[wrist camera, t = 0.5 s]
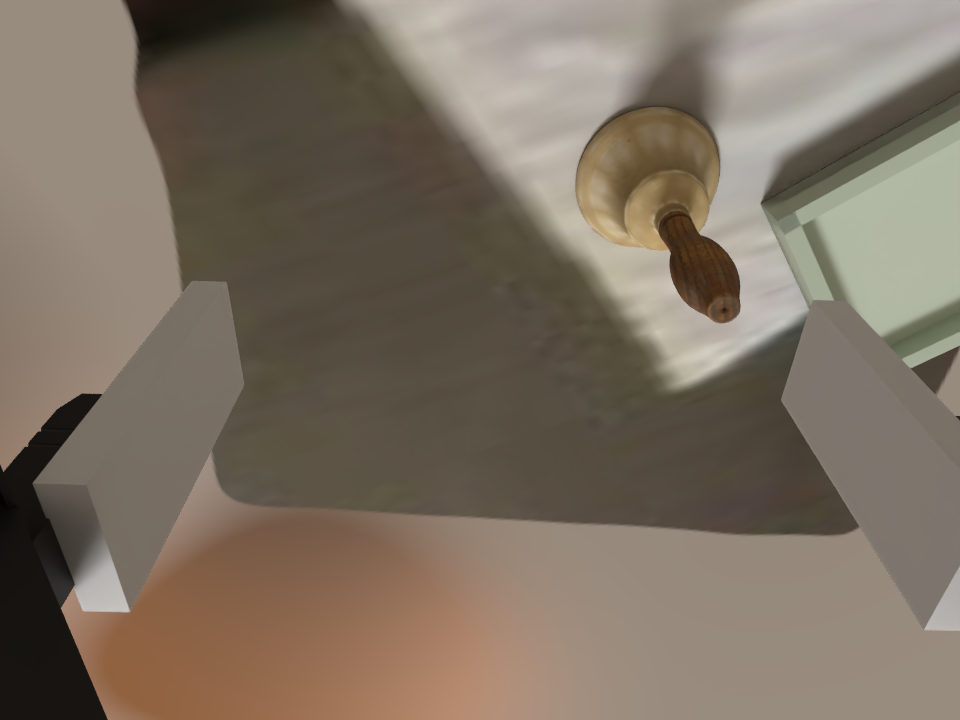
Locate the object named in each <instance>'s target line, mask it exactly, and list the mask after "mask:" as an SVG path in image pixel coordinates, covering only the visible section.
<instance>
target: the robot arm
mask: <svg viewBox="0 0 960 720" xmlns="http://www.w3.org/2000/svg"><path fill="white" fill-rule="evenodd" d="M243 386H244V381H243V375H242V369H241V363H240V357H239V352H238V346H237V340H236V334H235V328H234V322H233V316H232V310H231V305H230V299H229V293H228V287H227V282H209V281H192V282H191V283H190V284H189V285H188V287H187V288H186V289H185V290H184V292H183V293H182V294H181V295H180V297H179V298H178V299H177V301H176V302H175V303H174V305H173V306H172V307H171V308H170V310H169V311H168V312H167V313H166V315H165V316H164V317H163V318H162V320H161V321H160V322H159V324H158V325H157V326H156V327H155V329H154V330H153V331H152V332H151V334H150V335H149V336H148V337H147V339H146V340H145V341H144V342H143V344H142V345H141V346H140V348H139V349H138V350H137V351H136V353H135V354H134V355H133V356H132V358H131V359H130V360H129V362H128V363H127V364H126V365H125V367H124V368H123V369H122V371H121V372H120V373H119V374H118V376H117V377H116V378H115V379H114V381H113V382H112V383H111V384H110V386H109V387H108V388H107V389H106V391H105V392H104V393H103V394H81V395H79V396H78V397H76V398H74V399H73V400H71V401H70V402H68V403H67V404H65V405H63V406H62V407H60V408H59V409H57V410H56V411H55V413H54V414H53V415H52V416H51V417H50V418H49V419H48V421H47V422H46V423H45V424H44V425H43V426H42V428H41V432H37V433H36V435H35V436H34V437H33V438H32V439H31V440H30V442H29V443H28V447H24V449H23V450H22V451H21V452H20V453H19V454H18V456H17V457H16V458H15V459H14V460H13V462H12V463H11V464H10V465H9V466H8V467H7V468H6V470H5V471H4V472H3V470H2V468H1V465H0V720H108V719H107V717H106V715H105V712H104V710H103V707H102V705H101V703H100V701H99V698H98V696H97V693H96V691H95V688H94V686H93V684H92V681H91V679H90V677H89V674H88V672H87V670H86V667H85V665H84V663H83V660H82V658H81V655H80V653H79V651H78V648H77V646H76V644H75V641H74V639H73V636H72V634H71V632H70V629H69V627H68V625H67V622H66V620H65V617H64V615H63V613H62V610H61V607H62V605H63V604H64V602H65V600H66V599H67V597H68V595H69V593H70V592H71V590H72V589H73V587H74V590H75V592H76V595H77V597H78V600H79V603H80V605H81V607H82V610H83V611H99V612H102V611H103V612H131V610H132V607H133V606H134V604H135V601H136V600H137V598H138V595H139V594H140V592H141V590H142V588H143V585H144V584H145V581H146V580H147V578H148V576H149V574H150V572H151V569H152V568H153V566H154V564H155V562H156V560H157V558H158V556H159V554H160V552H161V550H162V548H163V546H164V544H165V542H166V540H167V538H168V536H169V534H170V532H171V530H172V528H173V526H174V524H175V522H176V520H177V518H178V516H179V514H180V512H181V510H182V508H183V506H184V504H185V502H186V500H187V498H188V496H189V494H190V492H191V490H192V488H193V486H194V484H195V482H196V480H197V478H198V476H199V474H200V472H201V470H202V468H203V466H204V464H205V462H206V460H207V458H208V456H209V454H210V452H211V450H212V448H213V446H214V444H215V442H216V440H217V438H218V436H219V434H220V432H221V430H222V428H223V426H224V424H225V422H226V420H227V418H228V416H229V414H230V412H231V410H232V408H233V406H234V404H235V402H236V400H237V398H238V396H239V394H240V392H241V390H242V388H243ZM781 401H782V402H783V404H784V406H785V407H786V409H787V410H788V412H789V414H790V415H791V417H792V418H793V420H794V422H795V423H796V425H797V427H798V428H799V430H800V431H801V433H802V435H803V436H804V438H805V439H806V441H807V443H808V444H809V446H810V447H811V449H812V451H813V452H814V454H815V456H816V457H817V459H818V460H819V462H820V464H821V465H822V467H823V468H824V470H825V472H826V473H827V475H828V476H829V478H830V480H831V481H832V483H833V485H834V486H835V488H836V489H837V491H838V493H839V494H840V496H841V497H842V499H843V501H844V502H845V504H846V505H847V507H848V509H849V510H850V512H851V514H852V515H853V517H854V518H855V520H856V522H857V523H858V525H859V526H860V528H861V530H862V531H863V533H864V534H865V536H866V538H867V539H868V541H869V543H870V544H871V546H872V547H873V549H874V550H875V552H876V554H877V555H878V557H879V558H880V560H881V562H882V563H883V565H884V567H885V568H886V570H887V572H888V573H889V575H890V576H891V578H892V580H893V581H894V583H895V584H896V586H897V588H898V589H899V591H900V592H901V594H902V596H903V597H904V599H905V600H906V602H907V604H908V605H909V607H910V609H911V610H912V612H913V613H914V615H915V617H916V618H917V620H918V621H919V623H920V625H921V626H922V628H923V629H924V630H951V631H960V416H955V415H954V414H953V413H952V412H951V411H950V410H949V409H948V408H947V407H946V406H945V405H944V403H942V401H940V399H939V398H938V397H937V396H936V395H935V394H934V393H933V392H932V391H931V390H930V389H929V388H928V387H927V386H926V384H925V383H924V382H923V381H922V380H921V379H920V378H919V377H918V376H917V375H916V374H915V373H914V372H913V371H912V370H911V369H910V368H909V367H908V366H907V364H906V363H905V362H904V361H903V360H902V359H901V358H900V357H899V356H898V355H897V354H896V353H895V352H894V351H893V350H892V349H891V348H890V347H889V345H888V344H887V343H886V342H885V341H884V340H883V339H882V338H881V337H880V336H879V335H878V334H877V333H876V332H875V331H874V330H873V329H872V328H871V327H870V325H869V324H868V323H867V322H866V321H865V320H864V319H863V318H862V317H861V316H860V315H859V314H858V313H857V312H856V311H855V310H854V309H853V308H852V306H851V305H850V304H849V303H848V302H847V301H830V300H812V304H811V307H810V310H809V313H808V316H807V319H806V323H805V326H804V329H803V332H802V335H801V338H800V342H799V345H798V348H797V351H796V354H795V358H794V361H793V364H792V367H791V370H790V373H789V377H788V380H787V383H786V386H785V389H784V392H783V396H782V399H781Z"/></svg>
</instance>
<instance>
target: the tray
mask: <svg viewBox="0 0 960 720" xmlns="http://www.w3.org/2000/svg"><path fill="white" fill-rule="evenodd" d="M761 206H762V208H763V210H764V212H765V214H766V216H767V219H768V221H769V223H770V225H771V227H772V229H773V232H774V234H775V236H776V238H777V240H778V242H779V244H780V247H781V249H782V251H783V253H784V255H785V257H786V260H787V262H788V264H789V266H790V268H791V270H792V273H793V275H794V277H795V279H796V281H797V283H798V285H799V288H800V290H801V292H802V294H803V296H804V298H805V301H806V303H807V305H808V307H809V309H810V307H811V304H812V300H830V301H847V302H848V303H849V304H850V305H851V306H852V308H853V309H854V310H855V311H856V312H857V313H858V314H859V315H860V316H861V317H862V318H863V319H864V320H865V321H866V322H867V323H868V324H869V325H870V327H871V328H872V329H873V330H874V331H875V332H876V333H877V334H878V335H879V336H880V337H881V338H882V339H883V340H884V341H885V342H886V343H887V344H888V345H889V347H890V348H891V349H892V350H893V351H894V352H895V353H896V354H897V355H898V356H899V357H900V358H901V359H902V360H903V361H904V362H905V363H906V364H907V366H908V367H909V368H912V367H914V366H916V365H919V364H921V363H923V362H925V361H927V360H929V359H931V358H934V357H936V356H938V355H940V354H942V353H944V352H947V351H949V350H951V349H953V348H955V347H957V346H959V345H960V92H959V93H957V94H955V95H954V96H952V97H950V98H948V99H947V100H945V101H943V102H941V103H939V104H938V105H936V106H934V107H932V108H931V109H929V110H927V111H925V112H923V113H922V114H920V115H918V116H916V117H915V118H913V119H911V120H909V121H907V122H906V123H904V124H902V125H900V126H898V127H897V128H895V129H893V130H891V131H890V132H888V133H886V134H884V135H882V136H881V137H879V138H877V139H875V140H874V141H872V142H870V143H868V144H866V145H865V146H863V147H861V148H859V149H858V150H856V151H854V152H852V153H850V154H849V155H847V156H845V157H843V158H842V159H840V160H838V161H836V162H834V163H833V164H831V165H829V166H827V167H826V168H824V169H822V170H820V171H818V172H817V173H815V174H813V175H811V176H809V177H808V178H806V179H804V180H802V181H801V182H799V183H797V184H795V185H793V186H792V187H790V188H788V189H786V190H785V191H783V192H781V193H779V194H777V195H776V196H774V197H772V198H770V199H769V200H767V201H765V202H763V203H761Z"/></svg>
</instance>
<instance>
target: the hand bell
mask: <svg viewBox="0 0 960 720" xmlns="http://www.w3.org/2000/svg"><path fill="white" fill-rule="evenodd" d="M719 176H720V162H719V155H718V151H717V148H716V145H715V143H714V140H713V139H712V137H711V135H710V134H709V132H708V131H707V129H706V128H705V127H704V126H703V125H702V124H701V123H700V122H699V121H697V120H696V119H695V118H693V117H692V116H690V115H688V114H686V113H684V112H682V111H679V110H676V109H673V108H668V107H647V108H641V109H637V110H634V111H630V112H628V113H626V114H624V115H621V116H619V117H617V118H616V119H614V120H612V121H611V122H610V123H608V124H607V125H606V126H605V127H603V128H602V129H601V130H600V131H599V132H598V133H597V134H596V135H595V137H594V138H593V139H592V140H591V142H590V143H589V144H588V146H587V148H586V150H585V151H584V153H583V156H582V158H581V160H580V163H579V166H578V169H577V175H576V196H577V201H578V205H579V208H580V210H581V213H582V215H583V217H584V218H585V220H586V221H587V223H588V224H589V225H590V226H591V227H592V229H593V230H594V231H595V232H597V233H598V234H599V235H601V236H602V237H604V238H605V239H607V240H609V241H611V242H613V243H616V244H619V245H622V246H627V247H645V248H647V249H650V250H655V251H667V250H670V252H671V255H670V273H671V277H672V280H673V283H674V285H675V287H676V289H677V291H678V293H679V295H680V296H681V298H682V299H683V300H684V301H685V302H686V303H687V304H688V305H689V306H690V307H692V308H693V309H695V310H696V311H698V312H700V313H702V314H705V315H706V316H708V317H709V318H710V319H711V320H713V321H714V322H717V323H727V322H730V321H732V320H733V319H734V318H736V317H737V316H738V314H739V313H740V306H741V305H740V299H739V294H740V280H739V275H738V272H737V268H736V266H735V264H734V262H733V261H732V259H731V258H730V256H729V255H728V253H727V252H726V251H725V250H724V249H723V248H722V247H721V246H720V245H719V244H717V243H716V242H714V241H713V240H711V239H710V238H707V237H704V236H701V235H700V234H699V232H700V231H701V229H702V228H703V226H704V225H705V223H706V220H707V217H708V214H709V207H710V204H711V202H712V200H713V198H714V195H715V193H716V190H717V187H718V182H719Z"/></svg>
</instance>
